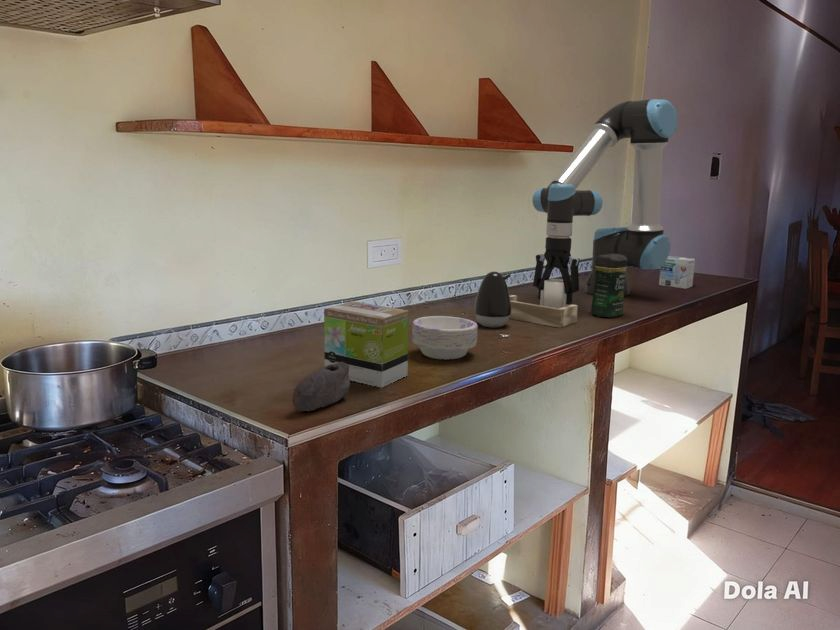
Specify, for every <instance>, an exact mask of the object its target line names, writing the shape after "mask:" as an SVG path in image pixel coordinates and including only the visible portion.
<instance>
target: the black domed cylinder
mask: <svg viewBox="0 0 840 630" xmlns="http://www.w3.org/2000/svg"><path fill="white" fill-rule="evenodd" d="M510 277H511V273H510V272H508V273H506V274H504V275H502V274H501V273H500V272H499V271H490V272H488V273H487V274H486V275H484V277H483V279H482V281H481V283H480V286H479V288H478V291H477V295H476V298H475V303H474V311H473V312H474V314H475V318H476V321H477V322H478V323H479V324H480V325H481V326H483V327H484V328H485V327H486V328H494V329H495V328H501V327H503V326H505V325H506V324H507V323H508V321H509V319H510V318H509V317H510V315H511V300H510V291H509V288H508V284H507V282H506V280H507V279H509V278H510Z"/></svg>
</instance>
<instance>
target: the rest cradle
mask: <svg viewBox="0 0 840 630" xmlns="http://www.w3.org/2000/svg"><path fill="white" fill-rule="evenodd" d="M510 300H511V315H510V317H509V319H510V320H517V321H522V322H526V323H527V322H528V323H534V324H537V325H544V326H549V327H554V328H559V329H560V328H564V327H566V326H570V325H572V324H575V323H577V319H578V304H572V303H571V304H569V306H565V307H562V308H554V307H547V306H541V305H540V304H535V303H530V302H529V303H527V302H521V301H518V295H514V294H511V295H510Z"/></svg>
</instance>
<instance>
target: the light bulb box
mask: <svg viewBox="0 0 840 630" xmlns="http://www.w3.org/2000/svg"><path fill="white" fill-rule="evenodd" d="M695 262H696V259H695V258H691V257H683V256H682V257H681V256H670V255H669V256H668V258H667V260H666V261H665V262H664V264H663V265H662V266H661V267H660V271H659V281H658V286H664V287H671V288H678V289H689V288H692V287H693V282H694V274H695V264H696V263H695Z"/></svg>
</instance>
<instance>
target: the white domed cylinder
mask: <svg viewBox="0 0 840 630" xmlns="http://www.w3.org/2000/svg"><path fill="white" fill-rule="evenodd" d="M565 292H566V290H565V286H564V283H563V279H562V278H561V279H560V278H549V279H547V280H544V296H543V306H547V307H554V308H562V307H563V293H565Z"/></svg>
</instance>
